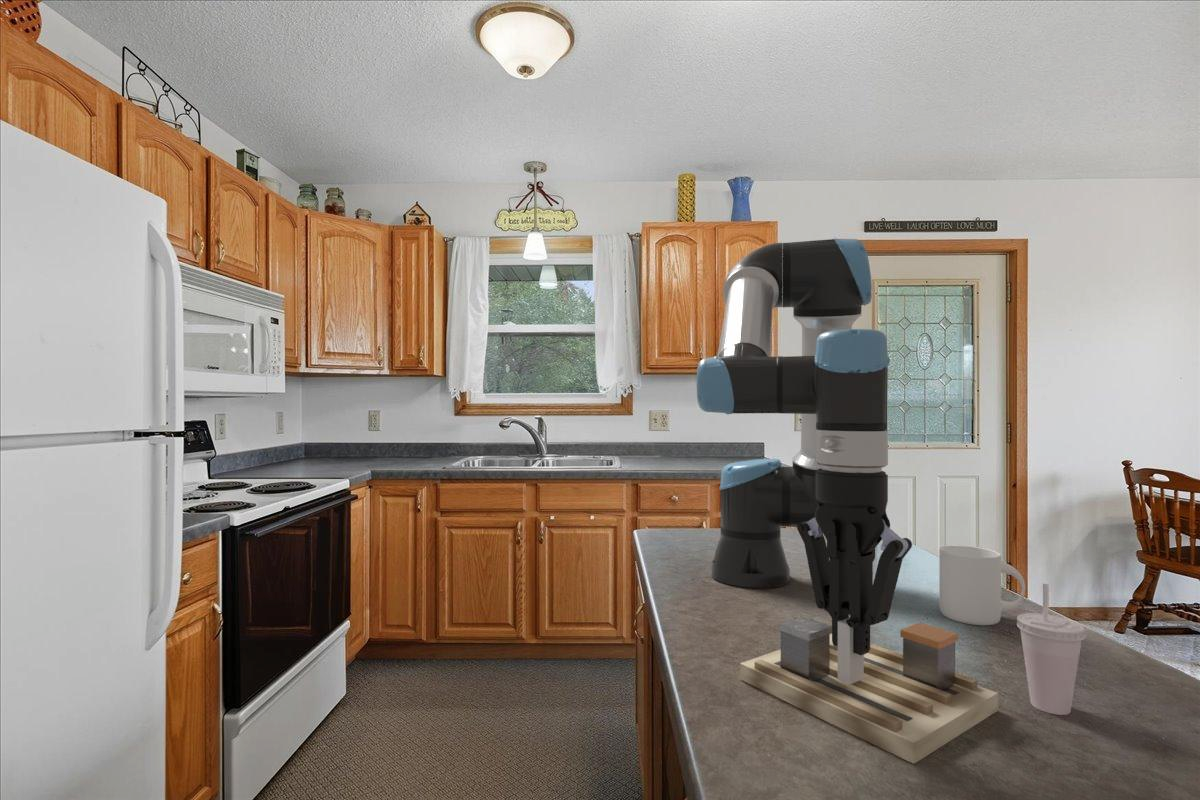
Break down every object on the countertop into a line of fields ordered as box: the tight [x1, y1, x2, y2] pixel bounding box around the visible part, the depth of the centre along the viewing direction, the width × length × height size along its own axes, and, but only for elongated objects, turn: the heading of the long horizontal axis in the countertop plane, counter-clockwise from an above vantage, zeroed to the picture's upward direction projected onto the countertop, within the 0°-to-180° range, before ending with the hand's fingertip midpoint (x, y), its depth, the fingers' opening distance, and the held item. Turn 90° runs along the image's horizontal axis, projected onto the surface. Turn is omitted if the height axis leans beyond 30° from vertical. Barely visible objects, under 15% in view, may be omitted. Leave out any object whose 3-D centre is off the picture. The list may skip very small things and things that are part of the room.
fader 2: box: [899, 622, 959, 690], centre depth 72 cm, size 4×4×6 cm
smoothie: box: [1016, 583, 1087, 716], centre depth 70 cm, size 6×6×14 cm
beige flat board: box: [739, 633, 999, 765], centre depth 73 cm, size 22×18×3 cm
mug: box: [938, 544, 1026, 626], centre depth 100 cm, size 9×12×11 cm
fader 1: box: [777, 615, 832, 682], centre depth 74 cm, size 4×4×6 cm
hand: (850, 679), depth 69 cm, fingers closed
